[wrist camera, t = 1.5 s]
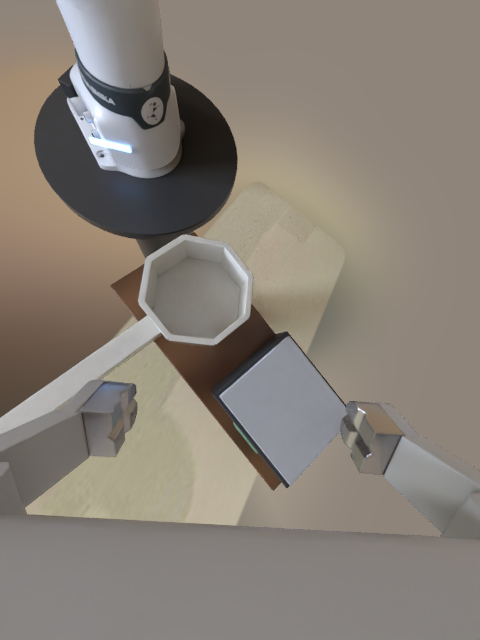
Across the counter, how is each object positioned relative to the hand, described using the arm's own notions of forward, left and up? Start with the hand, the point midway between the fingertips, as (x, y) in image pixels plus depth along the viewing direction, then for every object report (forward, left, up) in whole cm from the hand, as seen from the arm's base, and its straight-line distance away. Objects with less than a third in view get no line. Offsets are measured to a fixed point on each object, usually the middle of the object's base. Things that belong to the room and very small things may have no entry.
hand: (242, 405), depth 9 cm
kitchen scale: (+4, +3, -9) cm, 11 cm away
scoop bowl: (-6, -3, -9) cm, 12 cm away
